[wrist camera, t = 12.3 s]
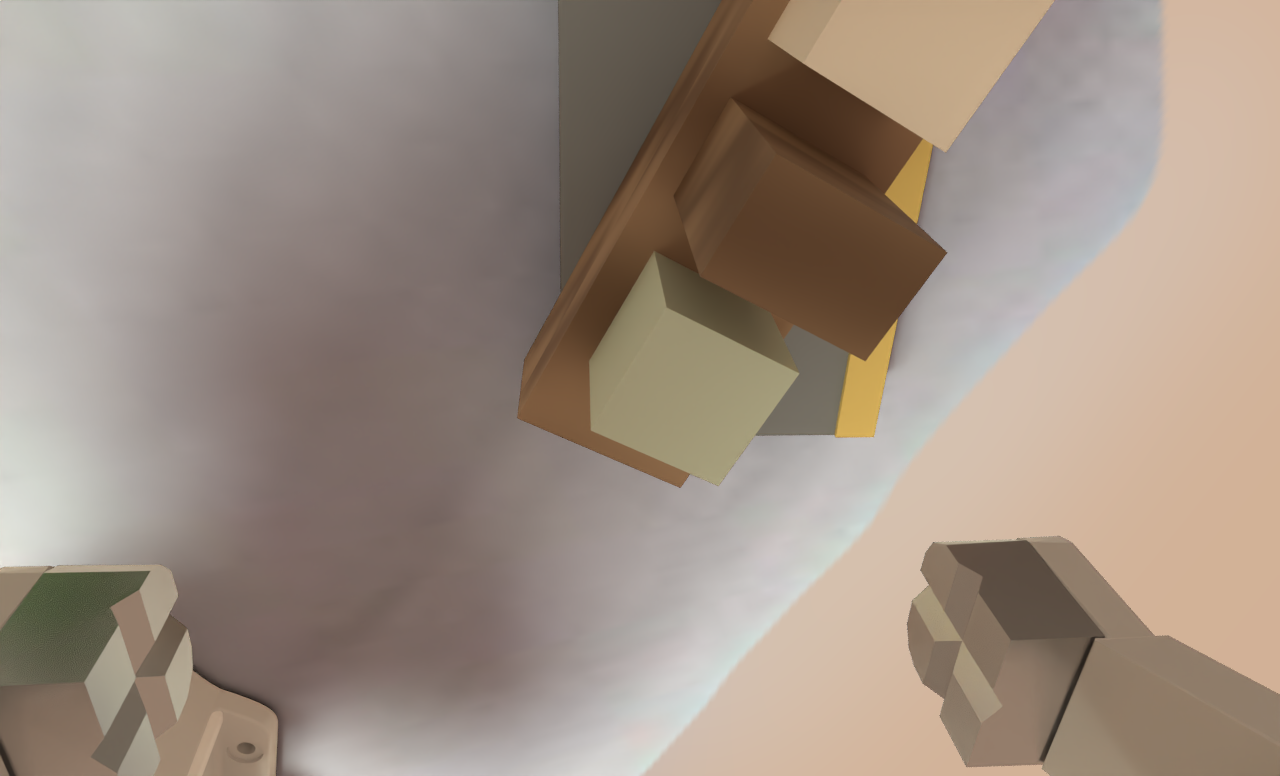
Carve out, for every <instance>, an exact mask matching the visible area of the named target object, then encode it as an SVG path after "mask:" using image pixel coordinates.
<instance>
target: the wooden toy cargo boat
mask: <svg viewBox="0 0 1280 776" xmlns="http://www.w3.org/2000/svg"><path fill="white" fill-rule="evenodd" d="M789 1H790V0H722V1H721V3H720V4H719V6H718V8H717V10H716V12H715V13H714V15H713V17H712V19H711V21H710V23H709V24H708V26H707V28H706V30H705V32H704V33H703V35H702V37H701V39H700V41H699V43H698V44H697V46H696V48H695V50H694V52H693V54H692V55H691V57H690V59H689V61H688V63H687V64H686V66H685V68H684V70H683V72H682V74H681V75H680V77H679V79H678V81H677V83H676V84H675V86H674V88H673V90H672V92H671V94H670V95H669V97H668V99H667V101H666V103H665V104H664V106H663V108H662V110H661V112H660V114H659V115H658V117H657V119H656V121H655V123H654V125H653V126H652V128H651V130H650V132H649V134H648V135H647V137H646V139H645V141H644V143H643V145H642V146H641V148H640V150H639V152H638V154H637V155H636V157H635V159H634V161H633V163H632V165H631V166H630V168H629V170H628V172H627V174H626V176H625V177H624V179H623V181H622V183H621V185H620V186H619V188H618V190H617V192H616V194H615V196H614V197H613V199H612V201H611V203H610V205H609V206H608V208H607V210H606V212H605V214H604V216H603V217H602V219H601V221H600V223H599V225H598V226H597V228H596V230H595V232H594V234H593V236H592V237H591V239H590V241H589V243H588V245H587V247H586V248H585V250H584V252H583V254H582V256H581V257H580V259H579V261H578V263H577V265H576V267H575V268H574V270H573V272H572V274H571V276H570V277H569V279H568V281H567V283H566V285H565V287H564V288H563V290H562V292H561V294H560V296H559V298H558V299H557V301H556V303H555V305H554V307H553V308H552V310H551V312H550V314H549V316H548V318H547V319H546V321H545V323H544V325H543V327H542V328H541V330H540V332H539V334H538V336H537V338H536V339H535V341H534V343H533V345H532V347H531V348H530V350H529V352H528V354H527V356H526V358H525V359H524V366H523V374H522V382H521V391H520V399H519V407H518V415H517V418H518V419H520V420H523V421H525V422H527V423H530V424H532V425H534V426H537V427H539V428H541V429H544V430H546V431H548V432H551V433H553V434H555V435H558V436H560V437H562V438H565V439H567V440H569V441H572V442H574V443H576V444H579V445H581V446H583V447H586V448H588V449H590V450H593V451H595V452H597V453H600V454H602V455H604V456H607V457H609V458H612V459H614V460H616V461H619V462H621V463H623V464H626V465H628V466H630V467H633V468H635V469H637V470H640V471H642V472H644V473H647V474H649V475H651V476H654V477H656V478H658V479H661V480H663V481H665V482H668V483H670V484H672V485H675V486H677V487H679V488H681V486H682V485H683V484H684V482H685V481H686V479H687V478H688V476H689V475H690V474H689V473H687V472H685V471H683V470H680V469H678V468H676V467H673V466H671V465H669V464H667V463H664V462H662V461H660V460H657V459H655V458H653V457H650V456H648V455H646V454H644V453H641V452H639V451H637V450H634V449H632V448H630V447H627V446H625V445H623V444H621V443H618V442H616V441H614V440H611V439H609V438H607V437H605V436H602V435H600V434H598V433H595V432H593V431H591V419H590V373H589V360H590V359H591V357H592V355H593V354H594V352H595V350H596V349H597V347H598V345H599V343H600V342H601V340H602V338H603V337H604V335H605V333H606V332H607V330H608V328H609V326H610V325H611V323H612V321H613V320H614V318H615V316H616V315H617V313H618V311H619V310H620V308H621V306H622V304H623V303H624V301H625V299H626V298H627V296H628V294H629V293H630V291H631V289H632V287H633V286H634V284H635V282H636V281H637V279H638V277H639V276H640V274H641V272H642V271H643V269H644V267H645V265H646V264H647V262H648V260H649V259H650V257H651V255H652V254H653V252H654V251H655V252H657V253H659V254H661V255H663V256H665V257H667V258H669V259H671V260H673V261H675V262H677V263H679V264H681V265H683V266H685V267H686V268H688V269H690V270H692V271H694V272H696V273H698V274H699V275H700V277H702V278H704V279H706V280H708V281H710V282H712V283H714V284H716V285H718V286H720V287H722V288H724V289H725V290H727V291H729V292H731V293H733V294H735V295H737V296H739V297H741V298H743V299H745V300H747V301H749V302H751V303H753V304H755V305H757V306H759V307H761V308H762V309H764V310H766V311H768V312H770V313H771V314H772V317H773V319H774V321H775V323H776V325H777V327H778V329H779V331H780V333H781V335H782V338H783V340H784V338H785V337H786V335H787V334H788V332H789V331H790V330H791V328H792V327H793V325H796V326H797V327H799V328H801V329H803V330H805V331H807V332H809V333H811V334H813V335H815V336H817V337H819V338H821V339H823V340H825V341H827V342H829V343H831V344H833V345H834V346H836V347H838V348H840V349H842V350H844V351H846V352H848V353H850V354H852V355H854V356H856V357H858V358H860V359H862V360H864V361H866V360H867V359H868V357H869V356H870V355H871V353H872V352H873V351H874V349H875V348H876V347H877V345H878V344H879V343H880V341H881V340H882V339H883V337H884V336H885V335H886V333H887V332H888V331H889V329H890V328H891V327H892V325H893V324H894V323H895V321H896V320H897V319H898V317H899V316H900V315H901V313H902V312H903V311H904V309H905V308H906V307H907V305H908V304H909V303H910V301H911V300H912V299H913V297H914V296H915V295H916V294H917V292H918V291H919V290H920V288H921V287H922V286H923V284H924V283H925V282H926V280H927V279H928V278H929V276H930V275H931V274H932V272H933V271H934V270H935V268H936V267H937V266H938V264H939V263H940V262H941V260H942V259H943V258H944V256H945V255H946V254H947V252H946V251H945V250H944V249H943V248H942V247H941V246H940V245H939V244H938V243H936V242H935V241H934V240H933V239H932V238H931V237H930V236H929V235H928V234H927V233H926V232H925V231H924V230H923V229H921V228H920V227H919V226H918V225H917V224H916V223H915V222H914V221H913V220H912V219H911V218H910V217H909V216H907V215H906V214H905V213H904V212H903V211H902V210H901V209H900V208H899V207H898V206H897V205H896V204H895V203H894V202H892V201H891V200H890V199H889V198H888V197H887V196H886V195H885V193H886V191H887V190H888V189H889V187H890V186H891V184H892V183H893V181H894V180H895V178H896V177H897V176H898V174H899V173H900V171H901V170H902V168H903V167H904V166H905V164H906V163H907V161H908V160H909V158H910V157H911V155H912V154H913V153H914V151H915V150H916V148H917V147H918V145H919V144H920V143H921V141H922V140H923V138H921V137H920V136H918V135H917V134H915V133H914V132H912V131H910V130H909V129H907V128H906V127H904V126H902V125H901V124H899V123H898V122H896V121H894V120H893V119H891V118H890V117H888V116H886V115H885V114H883V113H882V112H880V111H878V110H877V109H875V108H874V107H872V106H870V105H869V104H867V103H866V102H864V101H862V100H861V99H859V98H858V97H856V96H854V95H853V94H851V93H850V92H848V91H846V90H845V89H843V88H842V87H840V86H838V85H837V84H835V83H834V82H832V81H830V80H829V79H827V78H826V77H824V76H823V75H821V74H819V73H818V72H816V71H815V70H813V69H811V68H810V67H808V66H807V65H805V64H803V63H802V62H800V61H799V60H798V59H796V58H795V57H793V56H792V55H790V54H789V53H787V52H786V51H784V50H783V49H782V48H780V47H779V46H777V45H776V44H774V43H773V42H771V41H770V40H768V37H769V35H770V34H771V32H772V30H773V29H774V27H775V25H776V23H777V22H778V20H779V18H780V17H781V15H782V13H783V12H784V10H785V8H786V6H787V5H788V3H789Z"/></svg>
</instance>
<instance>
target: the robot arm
mask: <svg viewBox="0 0 1280 776" xmlns="http://www.w3.org/2000/svg"><path fill="white" fill-rule="evenodd" d="M920 571H921V572H922V574H923V576H924V577H925V579H926V581H927V582H928V584H929V586H927V587H926V588H925V589H924V590H923V591H922V592H921V593H920V594H919V595H918V596H917V597H916V598H914V599H913V600H912V604H911V609H910V613H909V617H908V622H907V630H908V646H909V650H910V654H911V657H912V661H913V664H914V667H915V669H916V671H917V673H918V675H919V677H920V679H921V681H922V683H923V684H924V685H926V686H927V687H928V688H930V689H931V690H933V691H934V692H935V693H937V694H938V695H940V696H941V697H942V698H944V702H943V706H942V709H941V713H940V718H941V720H942V722H943V723H944V725H945V727H946V729H947V731H948V733H949V735H950V737H951V739H952V741H953V742H954V744H955V746H956V748H957V750H958V752H959V754H960V756H961V758H962V760H963V761H964V763H965V765H966V767H984V766H1012V765H1040V764H1041V765H1042V764H1043V766H1042V769H1043V770H1044V771H1045V772H1047V773H1048V774H1049V775H1050V776H1280V694H1278V693H1276V692H1274V691H1272V690H1270V689H1269V688H1267V687H1265V686H1263V685H1261V684H1259V683H1257V682H1255V681H1253V680H1251V679H1250V678H1248V677H1246V676H1244V675H1242V674H1240V673H1238V672H1236V671H1234V670H1232V669H1231V668H1229V667H1227V666H1225V665H1223V664H1221V663H1219V662H1217V661H1216V660H1213V659H1212V658H1210V657H1208V656H1206V655H1204V654H1202V653H1200V652H1198V651H1197V650H1195V649H1193V648H1191V647H1189V646H1187V645H1185V644H1183V643H1181V642H1179V641H1178V640H1176V639H1174V638H1172V637H1170V636H1155V635H1154V634H1153V633H1152V632H1151V631H1150V630H1149V629H1148V628H1147V626H1146V625H1145V624H1144V623H1143V622H1142V621H1141V620H1140V619H1139V618H1138V616H1137V615H1136V614H1135V613H1134V612H1133V611H1132V610H1131V608H1130V607H1129V606H1128V605H1127V604H1126V603H1125V602H1124V601H1123V599H1122V598H1121V597H1120V596H1119V595H1118V594H1117V593H1116V592H1115V590H1114V589H1113V588H1112V587H1111V586H1110V585H1109V584H1108V582H1107V581H1106V580H1105V579H1104V578H1103V577H1102V576H1101V575H1100V573H1099V572H1098V571H1097V570H1096V569H1095V568H1094V567H1093V565H1092V564H1091V563H1090V562H1089V561H1088V560H1087V559H1086V558H1085V556H1084V555H1083V554H1082V553H1081V552H1080V551H1079V550H1078V549H1077V548H1076V546H1075V545H1074V544H1073V543H1072V542H1070V541H1069V540H1067V539H1065V538H1063V537H1061V536H1049V537H1030V538H1017V539H1016V540H984V541H956V542H933V543H932V545H931V546H930V547H929V549H928V550H927V551H926V553H925V556H924V560H923V563H922V567H921V570H920ZM178 596H179V594H178V591H177V588H176V585H175V582H174V578H173V575H172V572H171V570H170V569H168V568H166V567H164V566H162V565H58V566H56V567H52V566H27V567H2V568H0V776H276V758H277V738H278V719H277V716H276V715H275V713H274V712H273V711H272V710H271V709H269V708H268V707H266V706H264V705H262V704H260V703H258V702H256V701H253V700H251V699H248V698H246V697H243V696H240V695H237V694H235V693H232V692H229V691H226V690H223V689H220V688H218V687H216V686H215V685H213V684H211V683H210V682H208V681H207V680H205V679H204V678H202V677H201V676H200V675H198V674H197V673H196V672H194V671H193V661H192V645H191V641H190V637H189V633H188V629H187V628H186V627H185V626H184V625H183V624H181V623H180V622H179V621H178V620H176V619H175V618H174V617H172V616H171V615H170V614H169V613H170V611H171V609H172V608H173V606H174V604H175V602H176V600H177V598H178Z"/></svg>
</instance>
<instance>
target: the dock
mask: <svg viewBox="0 0 1280 776" xmlns="http://www.w3.org/2000/svg"><path fill="white" fill-rule="evenodd" d="M721 1H722V0H558V23H559V151H560V278H561V292H562V290H563V288H564V287H565V285H566V283H567V281H568V279H569V277H570V276H571V274H572V272H573V270H574V268H575V267H576V265H577V263H578V261H579V259H580V257H581V256H582V254H583V252H584V250H585V248H586V247H587V245H588V243H589V241H590V239H591V237H592V236H593V234H594V232H595V230H596V228H597V226H598V225H599V223H600V221H601V219H602V217H603V216H604V214H605V212H606V210H607V208H608V206H609V205H610V203H611V201H612V199H613V197H614V196H615V194H616V192H617V190H618V188H619V186H620V185H621V183H622V181H623V179H624V177H625V176H626V174H627V172H628V170H629V168H630V166H631V165H632V163H633V161H634V159H635V157H636V155H637V154H638V152H639V150H640V148H641V146H642V145H643V143H644V141H645V139H646V137H647V135H648V134H649V132H650V130H651V128H652V126H653V125H654V123H655V121H656V119H657V117H658V115H659V114H660V112H661V110H662V108H663V106H664V104H665V103H666V101H667V99H668V97H669V95H670V94H671V92H672V90H673V88H674V86H675V84H676V83H677V81H678V79H679V77H680V75H681V74H682V72H683V70H684V68H685V66H686V64H687V63H688V61H689V59H690V57H691V55H692V54H693V52H694V50H695V48H696V46H697V44H698V43H699V41H700V39H701V37H702V35H703V33H704V32H705V30H706V28H707V26H708V24H709V23H710V21H711V19H712V17H713V15H714V13H715V12H716V10H717V8H718V6H719V4H720V3H721ZM932 148H933V144H931V143H929V142H928V141H926V140H925V139H923V140H922V141H921V143H920V144H919V145H918V147H917V148H916V150H915V151H914V153H913V154H912V155H911V157H910V158H909V160H908V161H907V163H906V164H905V166H904V167H903V168H902V170H901V171H900V173H899V174H898V176H897V177H896V178H895V180H894V181H893V183H892V184H891V186H890V187H889V189H888V190H887V191H886V193H885V195H886V196H887V197H888V198H889V199H890V200H891V201H892V202H894V203H895V204H896V205H897V206H898V207H899V208H900V209H901V210H902V211H903V212H904V213H905V214H906V215H907V216H909V217H910V218H911V219H912V220H913V221H914V222H915V223H916V224H917V222H918V217H919V212H920V207H921V202H922V197H923V192H924V187H925V182H926V177H927V172H928V167H929V163H930V158H931V153H932ZM897 320H898V319H897ZM897 320H896V321H895V323H894V324H893V325H892V327H891V328H890V329H889V331H888V332H887V333H886V335H885V336H884V337H883V339H882V340H881V341H880V343H879V344H878V345H877V347H876V348H875V349H874V351H873V352H872V353H871V355H870V356H869V357H868V359H867V360H866V361H864V360H862V359H860V358H858V357H856V356H854V355H852V354H850V353H848V352H846V351H844V350H842V349H840V348H838V347H836V346H834V345H833V344H831V343H829V342H827V341H825V340H823V339H821V338H819V337H817V336H815V335H813V334H811V333H809V332H807V331H805V330H803V329H801V328H799V327H797V326H796V325H793V327H792V328H791V330H790V331H789V332H788V334H787V335H786V337H785V338H784V342H785V344H786V346H787V348H788V350H789V352H790V354H791V357H792V359H793V361H794V363H795V365H796V367H797V369H798V371H799V373H800V374H799V375H798V376H797V378H796V379H795V381H794V382H793V383H792V385H791V386H790V387H789V389H788V390H787V392H786V393H785V394H784V396H783V397H782V399H781V400H780V401H779V403H778V404H777V406H776V407H775V408H774V410H773V411H772V412H771V414H770V415H769V417H768V418H767V419H766V421H765V422H764V424H763V425H762V426H761V428H760V429H759V430H758V432H757V433H756V435H755V436H765V435H835V437H874V434H875V429H876V424H877V419H878V414H879V409H880V404H881V399H882V394H883V389H884V384H885V379H886V374H887V369H888V365H889V360H890V355H891V350H892V345H893V340H894V335H895V330H896V325H897Z"/></svg>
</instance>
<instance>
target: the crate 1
mask: <svg viewBox="0 0 1280 776" xmlns="http://www.w3.org/2000/svg"><path fill="white" fill-rule="evenodd" d="M589 373H590V419H591V431H593V432H595V433H598V434H600V435H602V436H605V437H607V438H609V439H611V440H614V441H616V442H618V443H621V444H623V445H625V446H627V447H630V448H632V449H634V450H637V451H639V452H641V453H644V454H646V455H648V456H650V457H653V458H655V459H657V460H660V461H662V462H664V463H667V464H669V465H671V466H673V467H676V468H678V469H680V470H683V471H685V472H687V473H689V474H692V475H694V476H696V477H699V478H701V479H703V480H706V481H708V482H710V483H712V484H715V485H717V486H719V485H720V483H721V482H722V480H723V479H724V478H725V476H726V475H727V474H728V472H729V471H730V469H731V468H732V467H733V465H734V464H735V462H736V461H737V460H738V458H739V457H740V455H741V454H742V453H743V451H744V450H745V449H746V447H747V446H748V444H749V443H750V442H751V440H752V439H753V437H754V436H755V435H756V433H757V432H758V430H759V429H760V428H761V426H762V425H763V424H764V422H765V421H766V419H767V418H768V417H769V415H770V414H771V412H772V411H773V410H774V408H775V407H776V406H777V404H778V403H779V401H780V400H781V399H782V397H783V396H784V394H785V393H786V392H787V390H788V389H789V387H790V386H791V385H792V383H793V382H794V381H795V379H796V378H797V376H798V375H799V374H800V373H799V371H798V369H797V367H796V365H795V363H794V361H793V359H792V357H791V354H790V352H789V350H788V348H787V346H786V344H785V342H784V340H783V338H782V335H781V333H780V331H779V329H778V327H777V325H776V323H775V321H774V319H773V317H772V314H771V313H770V312H768V311H766V310H764V309H762V308H761V307H759V306H757V305H755V304H753V303H751V302H749V301H747V300H745V299H743V298H741V297H739V296H737V295H735V294H733V293H731V292H729V291H727V290H725V289H724V288H722V287H720V286H718V285H716V284H714V283H712V282H710V281H708V280H706V279H704V278H702V277H700V275H699V274H698V273H696V272H694V271H692V270H690V269H688V268H686V267H685V266H683V265H681V264H679V263H677V262H675V261H673V260H671V259H669V258H667V257H665V256H663V255H661V254H659V253H657V252H655V251H654V252H653V254H652V255H651V257H650V259H649V260H648V262H647V264H646V265H645V267H644V269H643V271H642V272H641V274H640V276H639V277H638V279H637V281H636V282H635V284H634V286H633V287H632V289H631V291H630V293H629V294H628V296H627V298H626V299H625V301H624V303H623V304H622V306H621V308H620V310H619V311H618V313H617V315H616V316H615V318H614V320H613V321H612V323H611V325H610V326H609V328H608V330H607V332H606V333H605V335H604V337H603V338H602V340H601V342H600V343H599V345H598V347H597V349H596V350H595V352H594V354H593V355H592V357H591V359H590V360H589Z"/></svg>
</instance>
